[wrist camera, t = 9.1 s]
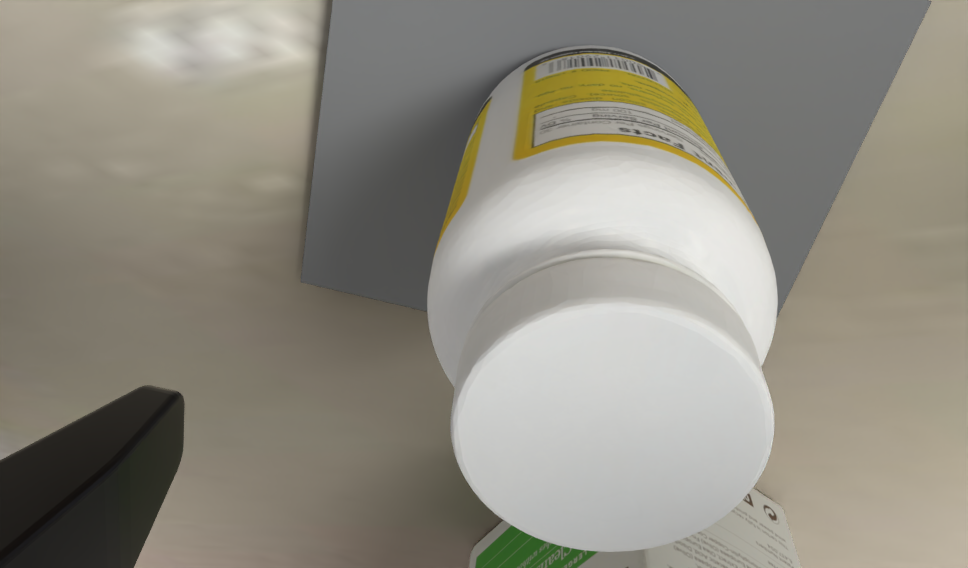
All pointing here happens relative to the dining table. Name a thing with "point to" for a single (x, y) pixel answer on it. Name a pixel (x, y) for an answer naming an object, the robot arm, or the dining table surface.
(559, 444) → the supplement bottle
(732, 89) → the rubber mat
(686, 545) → the skincare box
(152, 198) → the dining table surface
